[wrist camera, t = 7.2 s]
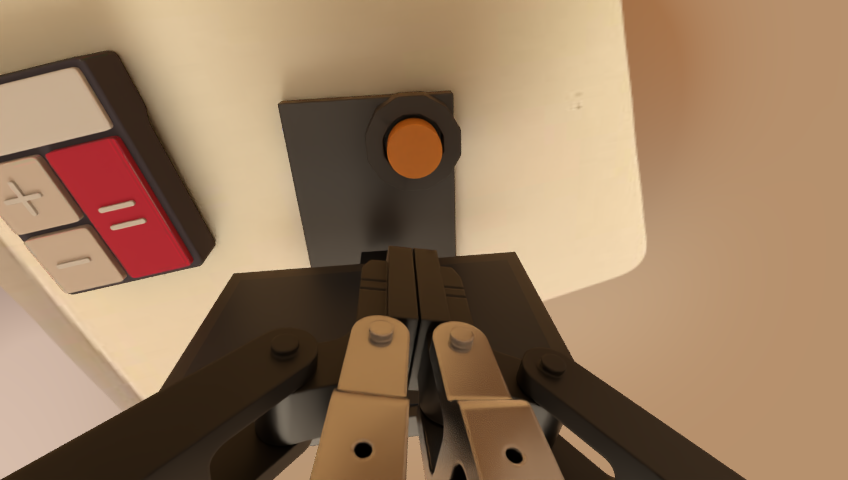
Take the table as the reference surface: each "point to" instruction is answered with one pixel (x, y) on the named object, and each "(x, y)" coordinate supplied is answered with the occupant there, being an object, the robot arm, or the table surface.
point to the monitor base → (369, 176)
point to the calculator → (92, 177)
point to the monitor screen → (337, 308)
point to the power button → (414, 148)
